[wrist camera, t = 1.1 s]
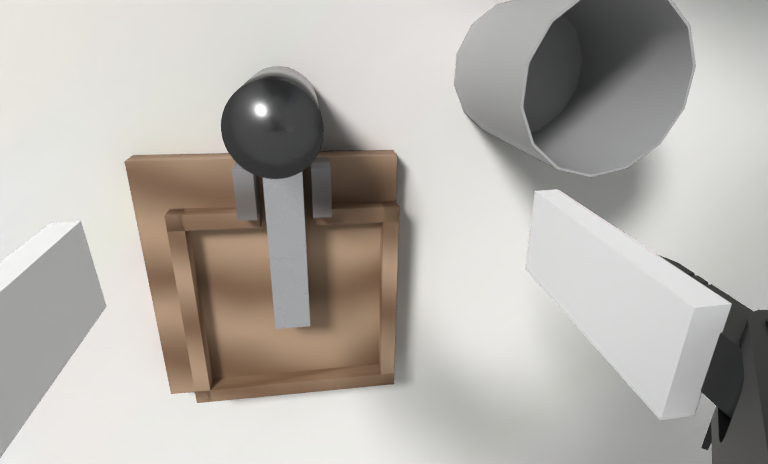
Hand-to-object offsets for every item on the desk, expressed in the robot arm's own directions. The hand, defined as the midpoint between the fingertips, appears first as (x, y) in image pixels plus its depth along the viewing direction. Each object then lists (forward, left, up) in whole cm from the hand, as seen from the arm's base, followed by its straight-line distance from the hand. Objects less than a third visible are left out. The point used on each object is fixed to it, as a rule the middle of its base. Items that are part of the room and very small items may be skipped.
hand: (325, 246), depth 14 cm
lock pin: (+4, -2, -17) cm, 17 cm away
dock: (+10, -3, -17) cm, 20 cm away
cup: (-4, +13, -18) cm, 22 cm away
